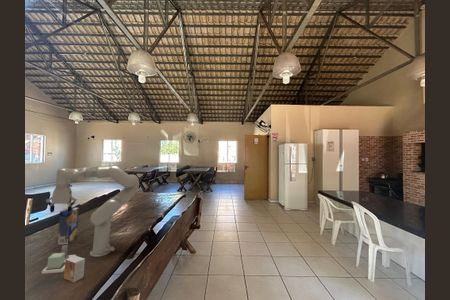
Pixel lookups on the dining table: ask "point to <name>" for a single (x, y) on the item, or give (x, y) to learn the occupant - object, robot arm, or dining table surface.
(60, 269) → the post board
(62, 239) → the juice carton
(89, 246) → the dining table surface
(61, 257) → the green slotted box
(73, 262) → the small box
